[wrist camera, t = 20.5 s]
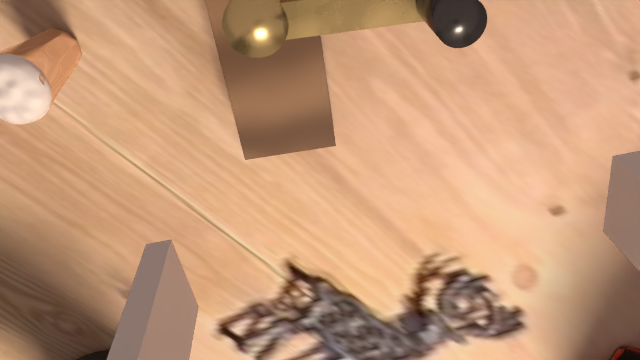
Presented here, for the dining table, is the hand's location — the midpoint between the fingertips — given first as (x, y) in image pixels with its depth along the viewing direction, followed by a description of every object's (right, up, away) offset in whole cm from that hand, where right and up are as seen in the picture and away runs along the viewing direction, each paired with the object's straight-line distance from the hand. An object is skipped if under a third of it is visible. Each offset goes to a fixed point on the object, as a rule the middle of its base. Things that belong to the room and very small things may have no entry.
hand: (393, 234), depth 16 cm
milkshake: (-21, +12, +24) cm, 34 cm away
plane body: (-6, +13, +24) cm, 28 cm away
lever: (-1, +11, +14) cm, 18 cm away
